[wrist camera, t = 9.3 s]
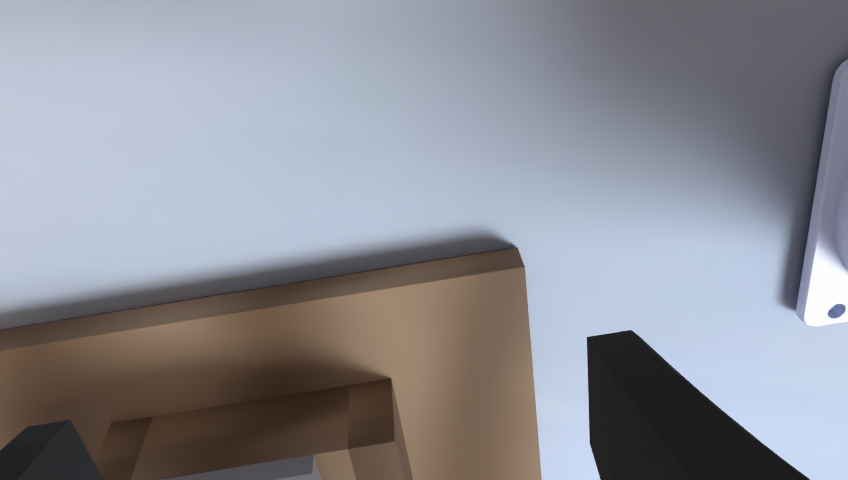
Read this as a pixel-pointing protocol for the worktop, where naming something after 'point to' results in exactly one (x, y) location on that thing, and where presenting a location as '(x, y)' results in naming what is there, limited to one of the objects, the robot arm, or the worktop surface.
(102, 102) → the worktop surface
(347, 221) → the worktop surface
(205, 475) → the servo block
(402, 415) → the dock
